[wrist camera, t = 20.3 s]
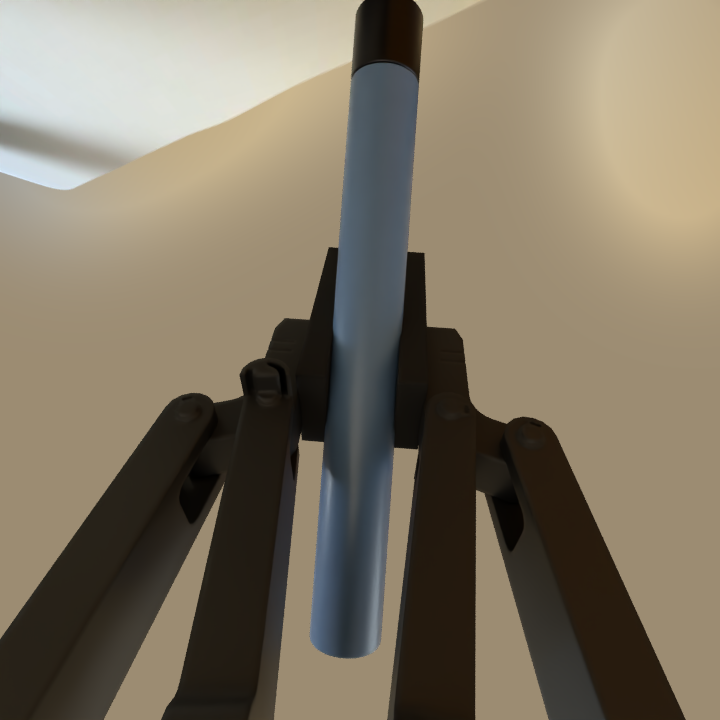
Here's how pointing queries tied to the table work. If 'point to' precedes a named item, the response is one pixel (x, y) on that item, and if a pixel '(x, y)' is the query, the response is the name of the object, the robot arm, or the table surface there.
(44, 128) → the table surface
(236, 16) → the table surface
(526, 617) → the robot arm
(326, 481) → the stylus
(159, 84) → the table surface
